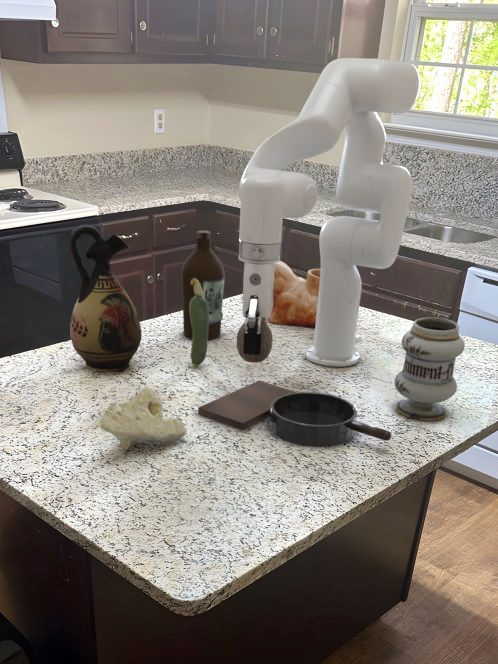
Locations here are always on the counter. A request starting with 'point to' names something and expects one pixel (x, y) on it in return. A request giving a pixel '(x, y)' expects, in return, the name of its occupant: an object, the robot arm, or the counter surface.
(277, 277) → the ceramic vessel
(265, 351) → the vase
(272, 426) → the pan
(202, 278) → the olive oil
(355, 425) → the pan handle
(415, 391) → the apothecary jar
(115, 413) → the cream coral rock
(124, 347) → the ceramic jug
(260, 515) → the counter surface
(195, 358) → the vegetable
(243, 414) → the board
